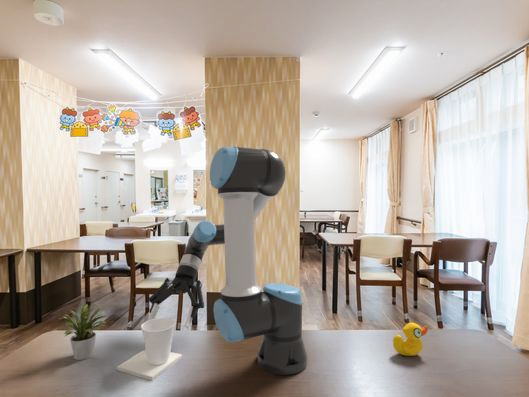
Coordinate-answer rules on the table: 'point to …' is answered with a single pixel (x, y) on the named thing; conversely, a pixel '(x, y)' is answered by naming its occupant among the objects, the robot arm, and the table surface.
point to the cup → (158, 339)
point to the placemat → (147, 365)
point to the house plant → (83, 333)
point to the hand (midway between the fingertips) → (168, 325)
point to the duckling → (410, 340)
